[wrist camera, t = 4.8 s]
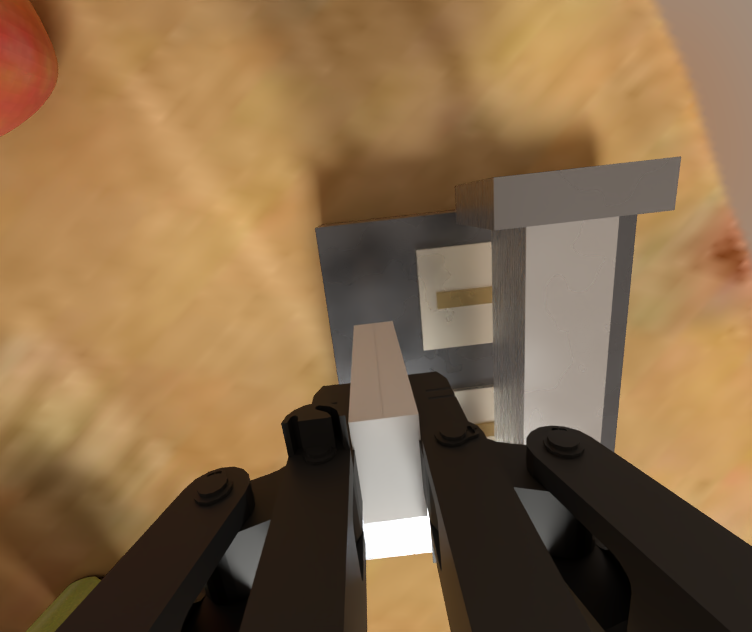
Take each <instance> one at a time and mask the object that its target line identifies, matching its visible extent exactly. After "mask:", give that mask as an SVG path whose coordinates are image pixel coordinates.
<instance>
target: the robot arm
mask: <svg viewBox="0 0 752 632" xmlns="http://www.w3.org/2000/svg"><path fill="white" fill-rule="evenodd" d="M281 425H282V429H283V434H284V438H285V443H286V447H287V452H288V461H287V464H286V466H285V467H283V468H281V469H280V470H278V471H275V472H273V473H271V474H268V475H265V476H262V477H260V478H257V479H254V480H251V481H250V478H249V474H248V473H247V472H246V471H245V470H244V469H241V468H237V467H225V468H219V469H216V470H213V471H210V472H208V473H206V474H204V475H202V476H201V477H199V478H197V479H195V480H194V481H193V482H192V483H191V484H190V485H188V486H187V487H186V488H185V489H184V490H183V491H182V492H181V493H180V495H179V496H178V497H177V498H176V499H175V500H174V501H173V502H172V503H171V504H170V505H169V507H168V508H167V509H166V510H165V511H164V512H163V513H162V514H161V515H160V516H159V518H158V519H157V520H156V521H155V522H154V523H153V524H152V525H151V526H150V527H149V529H148V530H147V531H146V532H145V533H144V534H143V535H142V536H141V537H140V538H139V540H138V541H137V542H136V543H135V544H134V545H133V546H132V547H131V548H130V549H129V550H128V552H127V553H126V554H125V555H124V556H123V557H122V558H121V559H120V560H119V561H118V563H117V564H116V565H115V566H114V567H113V568H112V569H111V570H110V571H109V572H108V574H107V575H106V576H105V577H104V578H103V579H102V580H101V581H100V582H99V583H98V584H97V586H96V587H95V588H94V589H93V590H92V591H91V592H90V593H89V594H88V595H87V597H86V598H85V599H84V600H83V601H82V602H81V603H80V604H79V605H78V606H77V608H76V609H75V610H74V611H73V612H72V613H71V614H70V615H69V616H68V617H67V619H66V620H65V621H64V622H63V623H62V624H61V625H60V626H59V627H58V628H57V629H56V631H55V632H367V594H366V544H365V538H364V531H363V520H364V524H367V523H375V522H383V521H391V520H400V519H408V518H416V517H424V516H428V514H429V521H430V532H431V543H432V554H433V563H437V568H438V572H439V577H440V582H441V587H442V592H443V596H444V601H445V606H446V611H447V615H448V620H449V625H450V630H451V632H752V546H751V545H749V544H748V543H746V542H745V541H743V540H742V539H740V538H739V537H737V536H736V535H734V534H733V533H732V532H730V531H729V530H727V529H726V528H724V527H723V526H721V525H720V524H718V523H717V522H715V521H714V520H712V519H711V518H710V517H708V516H707V515H705V514H704V513H702V512H701V511H699V510H698V509H696V508H695V507H693V506H692V505H690V504H689V503H688V502H686V501H685V500H683V499H682V498H680V497H679V496H677V495H676V494H674V493H673V492H671V491H670V490H668V489H667V488H666V487H664V486H663V485H661V484H660V483H658V482H657V481H655V480H654V479H652V478H651V477H649V476H648V475H646V474H645V473H643V472H642V471H641V470H639V469H638V468H636V467H635V466H633V465H632V464H630V463H629V462H627V461H626V460H624V459H623V458H621V457H620V456H619V455H617V454H616V453H614V452H613V451H611V450H610V449H608V448H607V447H605V446H604V445H602V444H601V443H599V442H598V441H597V440H595V439H594V438H592V437H591V436H589V435H587V434H585V433H583V432H581V431H579V430H576V429H572V428H569V427H565V426H552V425H551V426H544V427H539V428H537V429H535V430H533V431H531V432H530V433H529V435H528V436H527V438H526V445H522V444H511V443H503V442H497V441H494V440H491V439H487V437H486V435H485V434H484V432H483V431H482V430H481V429H480V428H479V427H478V426H477V425H475V424H473V423H471V422H469V421H468V420H467V418H466V416H465V414H464V412H463V410H462V408H461V406H460V404H459V402H458V400H457V398H456V396H455V394H454V392H453V390H452V389H451V386H450V384H449V382H448V380H447V378H446V377H444V376H443V375H441V374H440V373H438V372H437V371H434V372H426V373H418V374H410V375H407V371H406V367H405V364H404V360H403V357H402V353H401V349H400V346H399V342H398V339H397V335H396V332H395V328H394V324H393V321H388V322H379V323H371V324H363V325H355V326H354V332H353V349H352V367H351V383H346V384H338V385H330V386H323V387H322V388H321V389H320V390H319V391H318V392H317V393H316V394H315V395H314V398H313V402H312V404H309V405H305V406H303V407H300V408H298V409H296V410H294V411H293V412H291V413H290V414H288V415H287V416H286V417H285V419H284V420H283V421H282V423H281ZM427 510H428V512H427Z"/></svg>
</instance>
